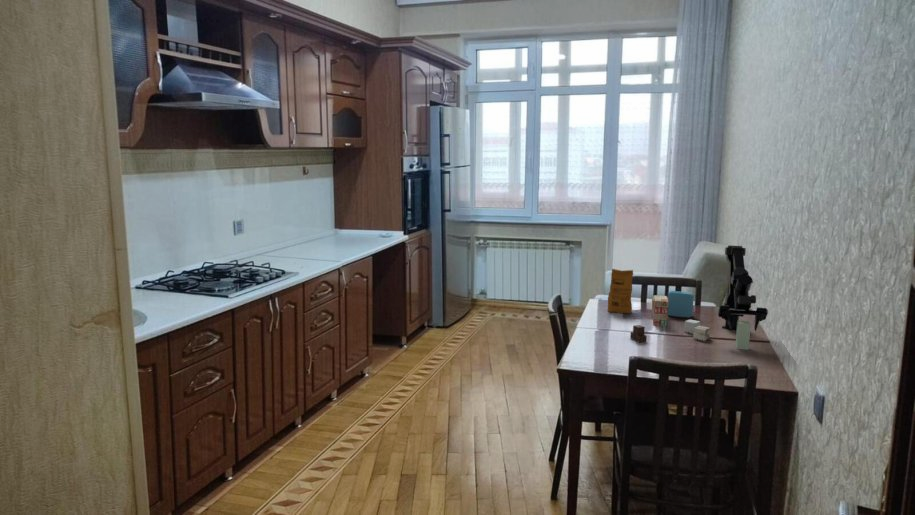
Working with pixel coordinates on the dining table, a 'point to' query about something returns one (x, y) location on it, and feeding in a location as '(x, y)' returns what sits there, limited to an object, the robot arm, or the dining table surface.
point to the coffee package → (620, 291)
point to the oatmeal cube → (701, 333)
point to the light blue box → (680, 304)
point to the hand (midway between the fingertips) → (743, 329)
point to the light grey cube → (691, 325)
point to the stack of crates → (638, 333)
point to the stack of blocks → (659, 310)
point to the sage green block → (743, 335)
